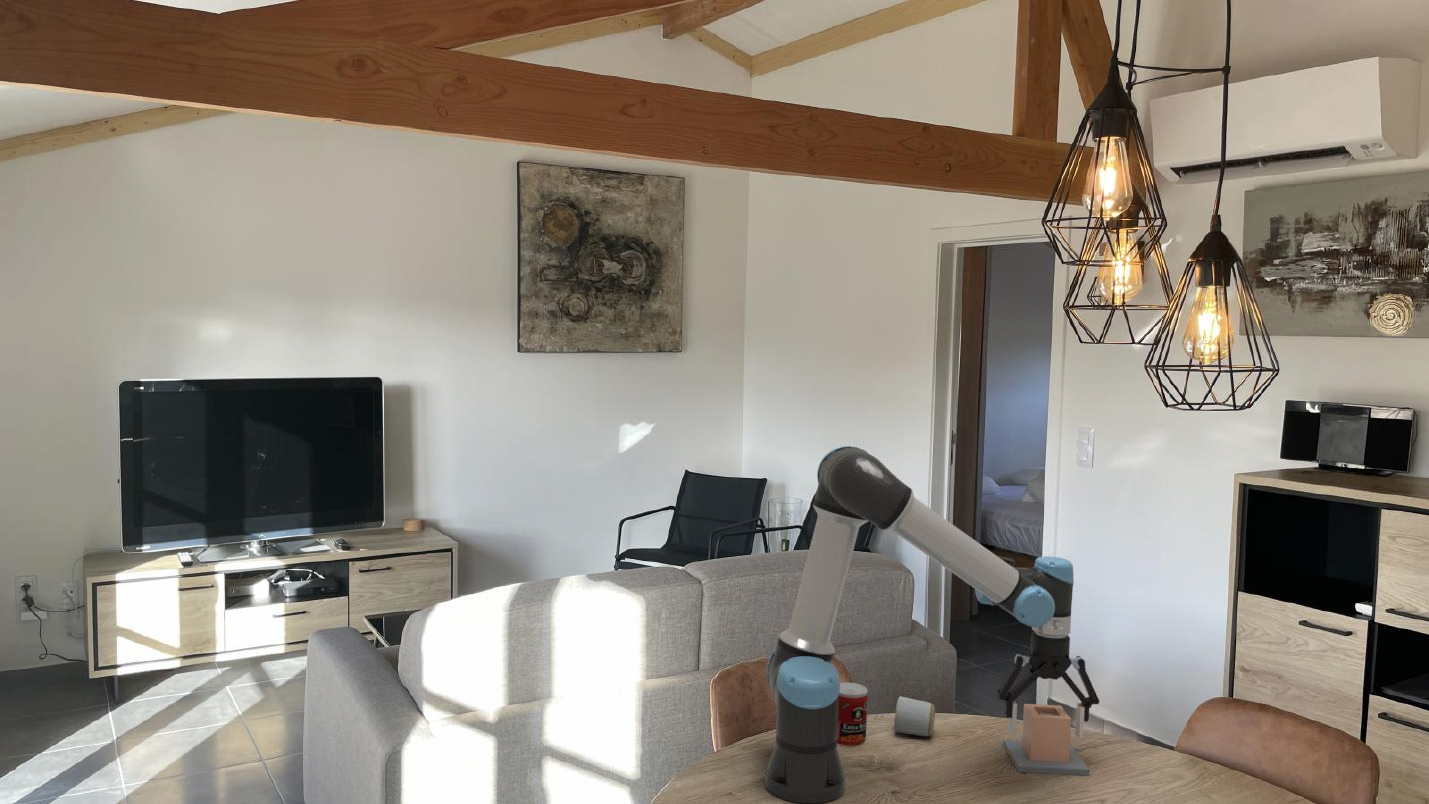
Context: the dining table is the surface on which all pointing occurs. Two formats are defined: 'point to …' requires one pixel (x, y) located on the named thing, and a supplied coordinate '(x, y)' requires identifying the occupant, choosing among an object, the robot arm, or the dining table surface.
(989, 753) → the dining table surface
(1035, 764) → the shaft plate
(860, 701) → the canned food
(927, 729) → the ceramic mug
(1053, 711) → the square open box
